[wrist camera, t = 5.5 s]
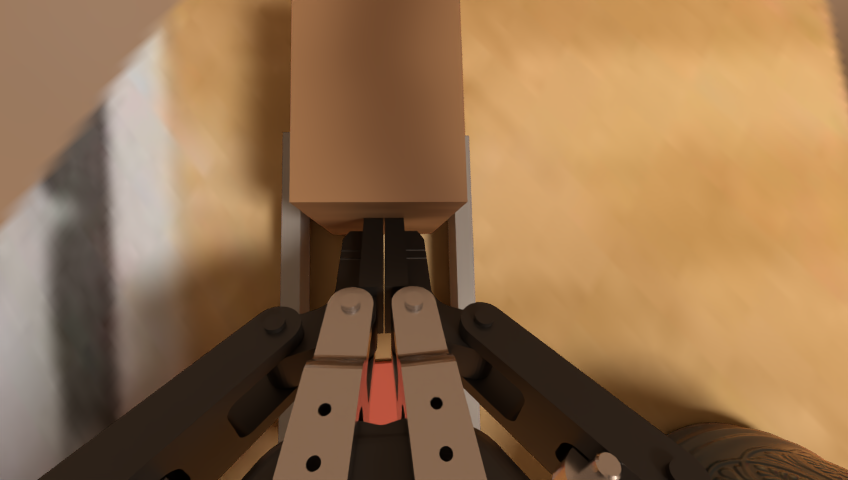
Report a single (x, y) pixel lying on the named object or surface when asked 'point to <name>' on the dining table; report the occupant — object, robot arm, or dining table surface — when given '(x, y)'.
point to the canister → (752, 454)
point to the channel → (298, 262)
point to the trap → (383, 395)
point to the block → (377, 112)
